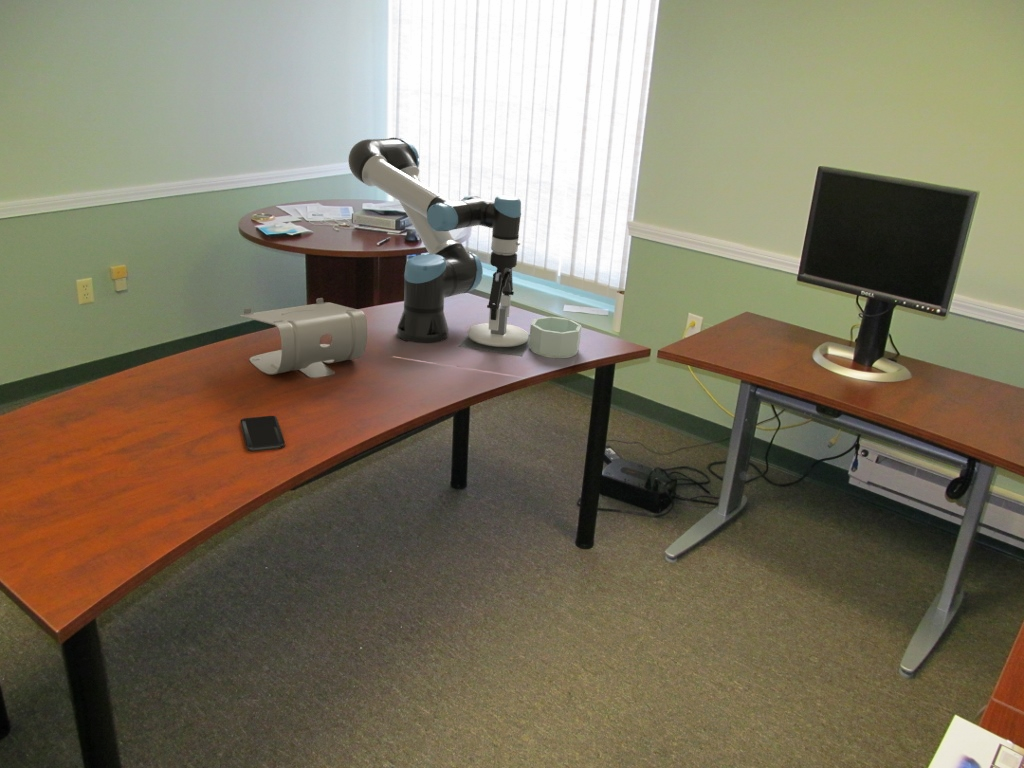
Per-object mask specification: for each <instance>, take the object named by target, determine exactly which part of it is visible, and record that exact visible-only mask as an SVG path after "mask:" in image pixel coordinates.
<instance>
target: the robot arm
mask: <svg viewBox="0 0 1024 768" xmlns="http://www.w3.org/2000/svg"><path fill="white" fill-rule="evenodd" d="M347 159H348V167H349V170H350V171H351V173H352V174H353V176H354V177H355V178H356V179H357V180H359V181H360V182H361V183H363V184H365V186H368V187H376V188H378V189H380V190H381V191H383V192H384V193H386V194H387V195H389V196H391V197H392V198H394V199H396V200H397V201H399V203H400V205H401V207H402V208H403V210H404V212H405V214H406V216H407V217H408V219H409V221H410V222H411V224H412V226H413V228H414V230H415V232H416V234H417V235H418V237H419V238H420V240H421V242H422V244H423V246H424V247H425V249H426V251H427V252H428V253H427V254H423V253H422V254H418V255H415V256H412V257H410V258H409V259H408V260H407V261H406V263H405V267H404V273H403V277H404V278H403V279H404V280H403V281H404V282H403V283H404V285H403V288H404V289H403V293H404V295H403V296H404V297H403V311H402V313H401V316H400V319H399V322H398V324H397V331H396V333H397V334H396V335H397V337H398V338H400V339H401V340H403V341H405V342H410V343H417V344H434V343H439V342H442V341H445V340H447V339H448V337H449V327H448V323H447V319H446V316H445V312H444V311H445V310H444V309H445V308H444V307H445V306H444V305H445V298H446V299H447V298H450V297H454V296H458V295H461V294H462V295H463V294H466V293H469V292H471V291H473V290H476V289H477V288H478V287H479V286H480V284H481V281H482V279H483V276H482V275H483V272H484V271H483V270H484V269H483V265H482V262H481V260H480V257H478V256H477V254H475V253H472V252H471V251H466V249H465V247H464V245H463V244H462V243H461V242H458V241H455V240H454V237H453V236H452V234H451V233H450V231H454V230H459V229H466V228H470V227H477V226H481V227H485V228H486V227H487V228H489V229H492V231H491V232H492V234H491V235H492V236H491V243H490V244H491V247H490V250H491V252H490V264H491V266H493V267H495V268H496V271H495V272H494V273H493V274H492V282H491V283H492V284H491V289H490V293H489V301H488V304H487V306H486V308H487V309H489V316H488V317H489V318H488V323H489V330H496V331H498V326H499V313H500V308H499V305H501V306H507V307H508V314H507V318H510V307H511V296H514V294H515V292H514V291H513V290H514V287H513V268H516V266H518V265H517V262H518V254H517V252H518V250H519V249H518V247H519V246H520V245H521V241H519V237H520V236H519V235H520V233H519V232H520V226H521V225H520V224H521V217H522V201H521V199H520V198H519V197H516V196H512V195H511V196H510V195H497V196H495V197H494V200H490V199H487V198H483V197H480V196H472V195H467V196H464V197H463V198H462V199H461V200H455V201H453V200H450V199H448V198H447V197H445V196H443V195H442V194H440V193H438V192H436V191H435V190H433V189H432V188H431V187H429V186H426V185H425V184H423V183H422V182H421V180H420V178H419V174H420V169H419V166H420V160H419V159H420V155H419V152H418V151H417V149H416V147H415V145H414V144H413V143H412V142H411V141H409V140H408V139H405V138H398V137H389V138H376V139H373V138H371V139H370V138H369V139H368V138H367V139H363V140H360V141H359V142H357V143H355V144H354V145H353V147H352V148H351V149H350V151H349V154H348V158H347Z"/></svg>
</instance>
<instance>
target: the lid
mask: <svg viewBox="0 0 1024 768" xmlns="http://www.w3.org/2000/svg"><path fill="white" fill-rule="evenodd" d="M499 308H500V313H499V326H498V331H496V330H489V322H485V323H478V324H474V325H472V326H470V327H469V328H468V329H467V336H468V337H469V338H470V339H471V340H473V341H475V342H478V343H480V344H484V345H489V346H496V347H511V346H518V345H521V344H524V343H526V342H527V341H528V336H529V335H530V334H529V333H528V331H526V330H525V329H523V328H522V327H519V326H516V325H514V324H510V323H509V324H508V317H507V314H508V307H507V306H501V304H500V305H499Z"/></svg>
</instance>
